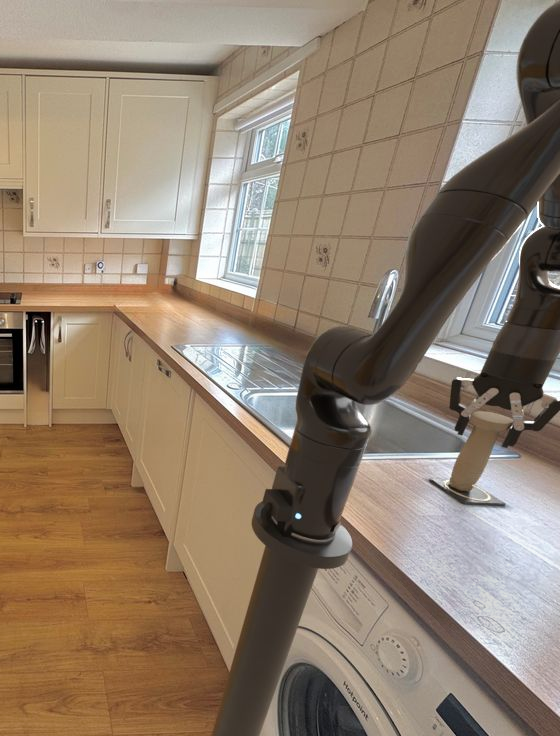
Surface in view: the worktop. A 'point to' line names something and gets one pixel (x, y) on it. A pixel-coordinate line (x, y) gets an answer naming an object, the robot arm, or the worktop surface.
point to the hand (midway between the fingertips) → (482, 439)
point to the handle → (477, 449)
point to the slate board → (468, 494)
